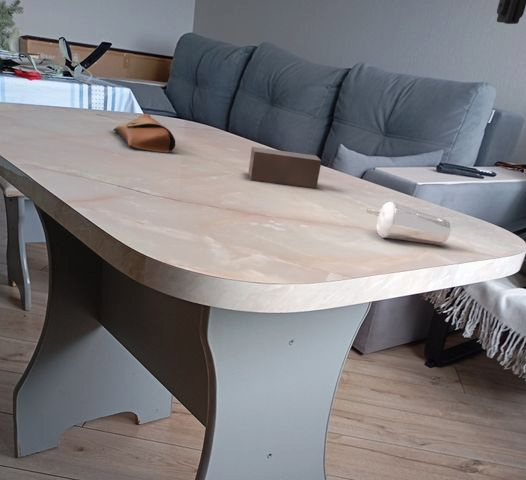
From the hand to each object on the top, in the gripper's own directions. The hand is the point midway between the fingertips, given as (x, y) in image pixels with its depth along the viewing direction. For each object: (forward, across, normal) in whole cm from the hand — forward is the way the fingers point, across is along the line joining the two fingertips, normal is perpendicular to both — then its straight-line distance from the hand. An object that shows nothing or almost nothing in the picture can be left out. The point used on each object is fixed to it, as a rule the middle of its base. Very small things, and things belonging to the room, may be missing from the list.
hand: (507, 22), depth 81 cm
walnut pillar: (+25, +18, -15) cm, 34 cm away
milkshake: (+26, +6, +13) cm, 29 cm away
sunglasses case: (+27, +48, -35) cm, 65 cm away
